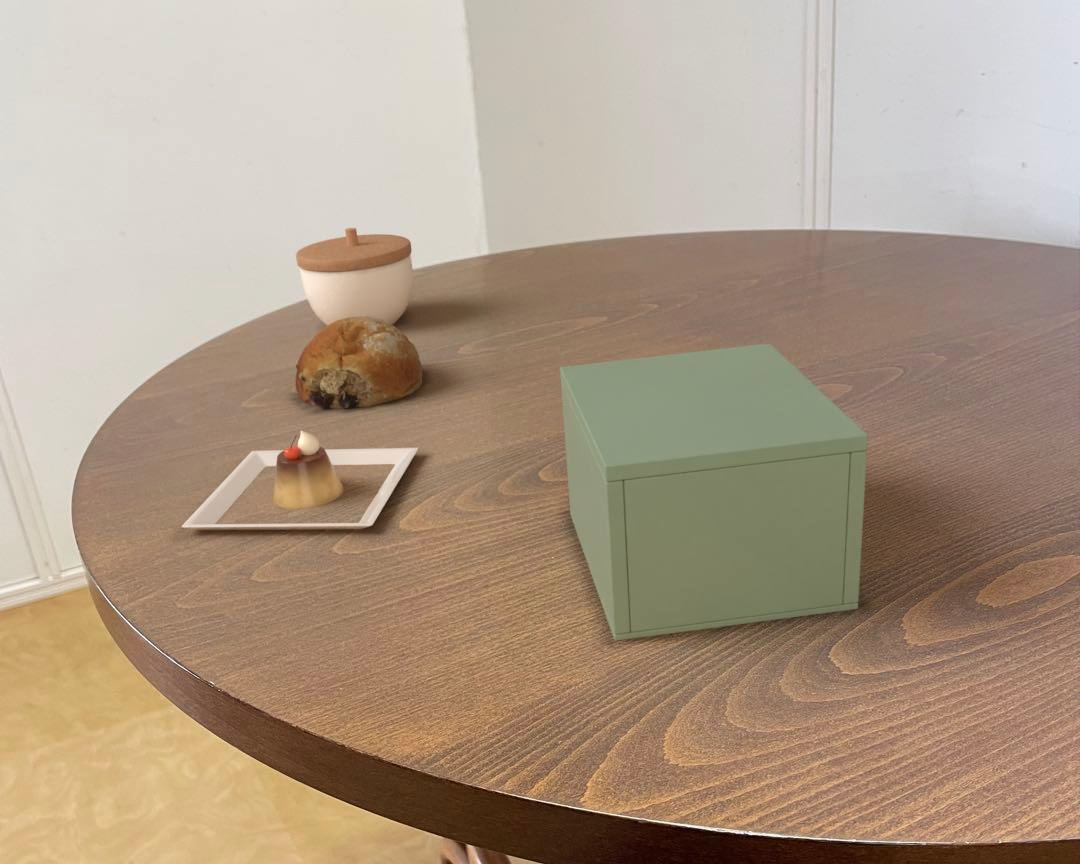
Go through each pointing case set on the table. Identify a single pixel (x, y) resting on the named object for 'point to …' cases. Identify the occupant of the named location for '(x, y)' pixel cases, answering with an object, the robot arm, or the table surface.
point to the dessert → (301, 483)
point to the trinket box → (357, 276)
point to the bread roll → (357, 365)
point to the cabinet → (712, 490)
